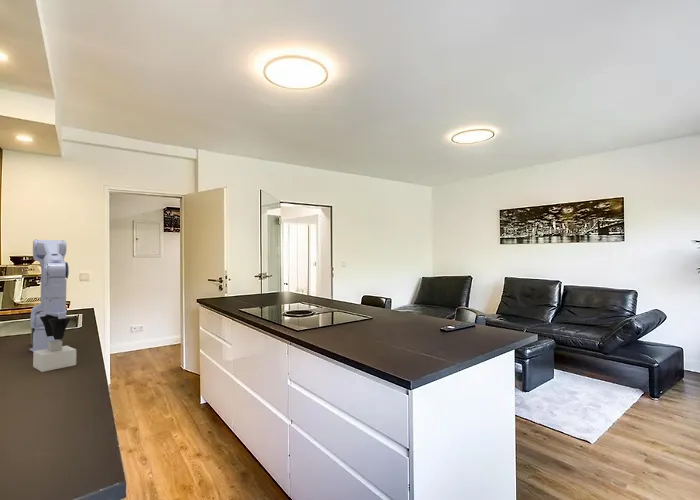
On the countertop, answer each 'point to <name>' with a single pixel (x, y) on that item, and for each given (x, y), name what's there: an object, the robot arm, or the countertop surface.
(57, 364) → the grey knobbed block
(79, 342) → the countertop surface
